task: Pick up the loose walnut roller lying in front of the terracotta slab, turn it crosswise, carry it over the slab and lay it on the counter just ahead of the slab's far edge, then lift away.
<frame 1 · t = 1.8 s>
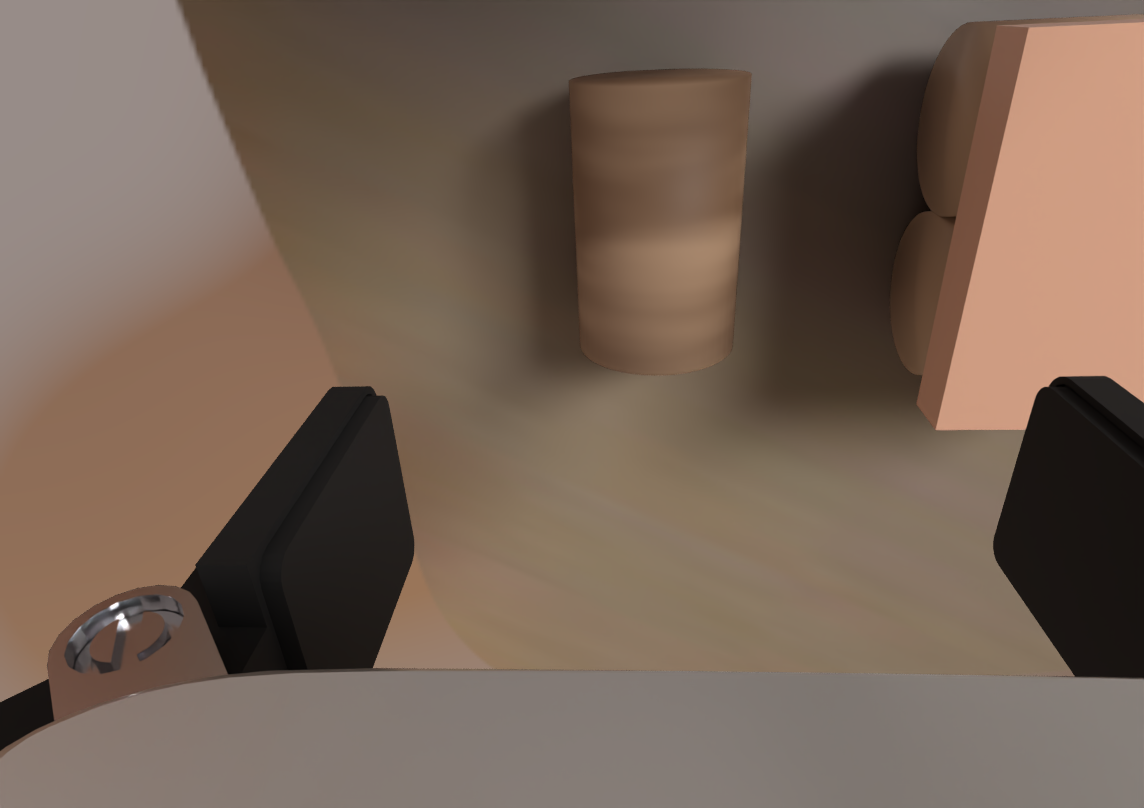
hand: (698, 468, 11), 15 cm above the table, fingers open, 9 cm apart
roller: (657, 200, 24), on the table
slab: (1034, 190, 23), on the table
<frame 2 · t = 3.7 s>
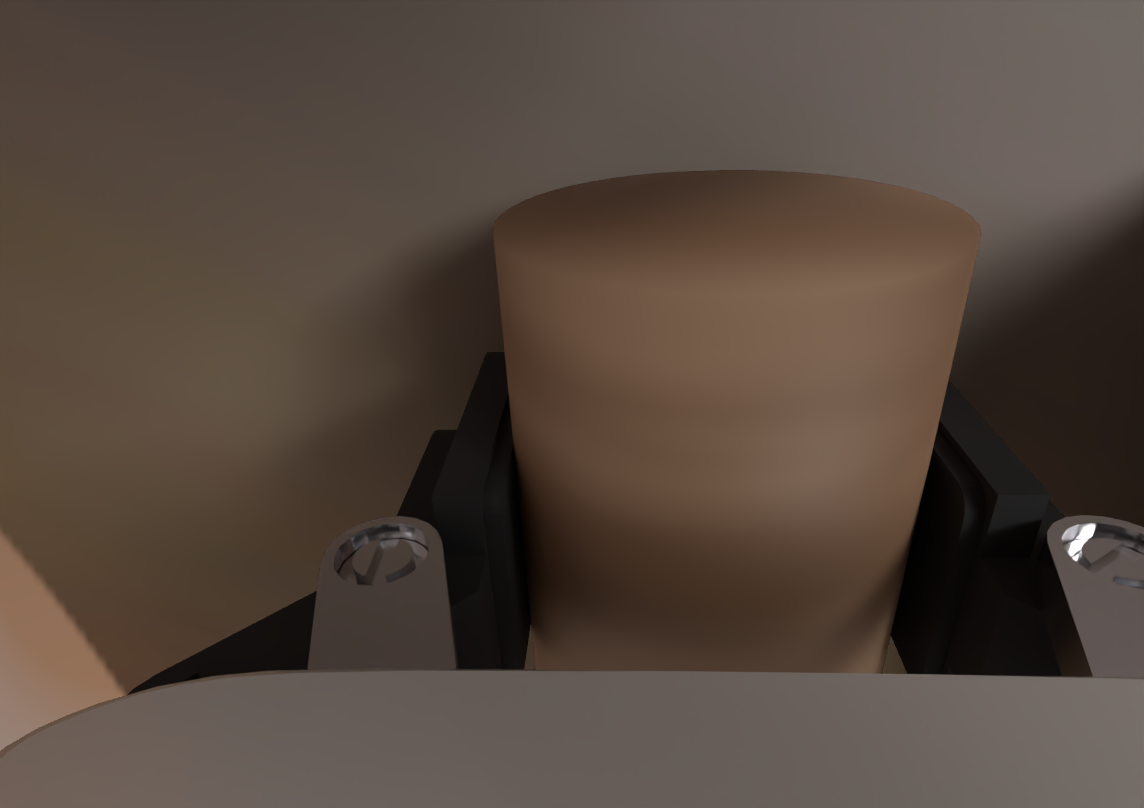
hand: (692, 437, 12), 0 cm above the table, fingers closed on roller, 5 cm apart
roller: (693, 420, 12), on the table, touching gripper
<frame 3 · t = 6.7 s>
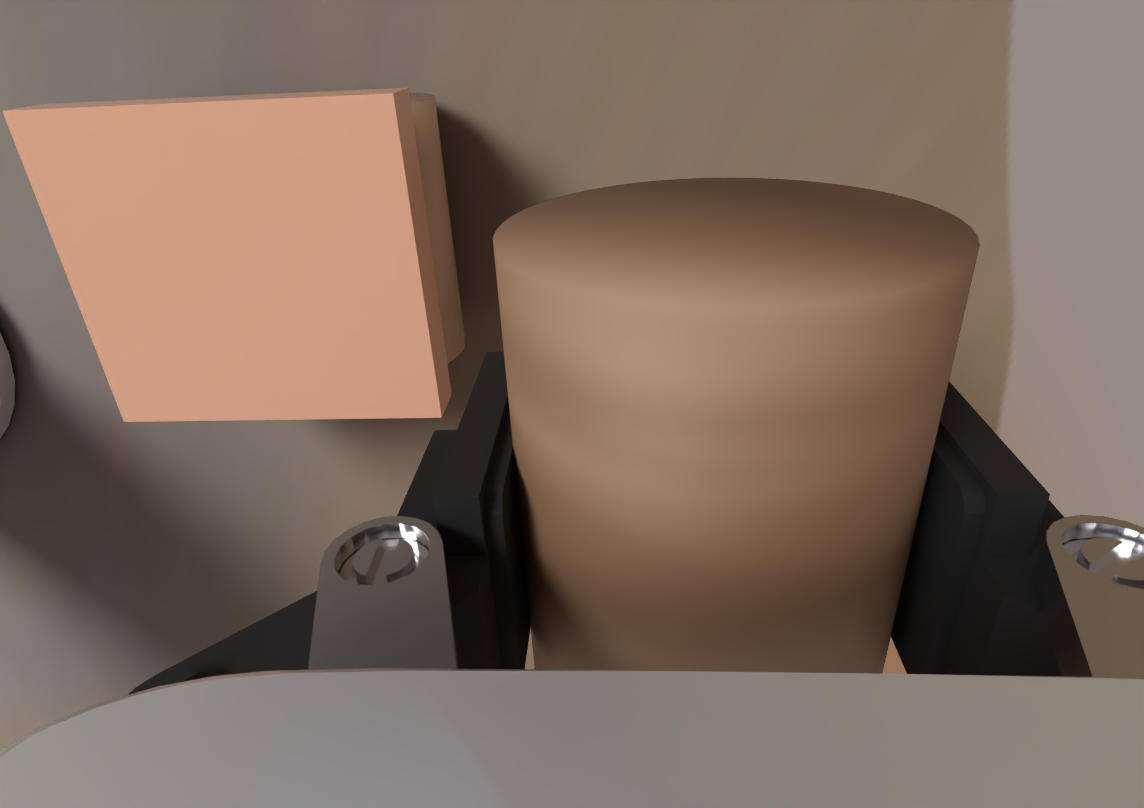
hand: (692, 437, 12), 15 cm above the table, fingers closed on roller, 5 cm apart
roller: (692, 426, 12), point 15 cm above the table, touching gripper
slab: (325, 218, 26), on the table
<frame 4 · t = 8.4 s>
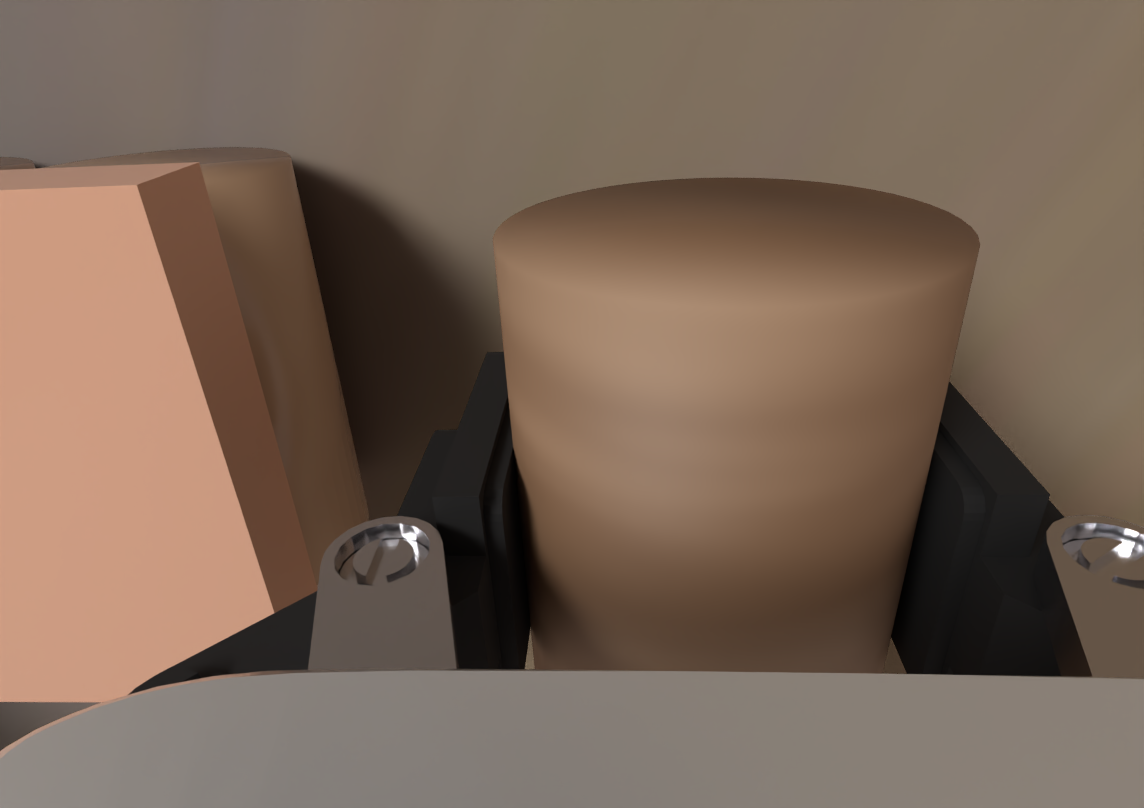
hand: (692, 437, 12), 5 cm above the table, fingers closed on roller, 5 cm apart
roller: (692, 426, 12), point 5 cm above the table, touching gripper
slab: (152, 333, 17), on the table
when the fingers open (1 cm above the table, at t = 9.6 s): roller stays where it is, on the table.
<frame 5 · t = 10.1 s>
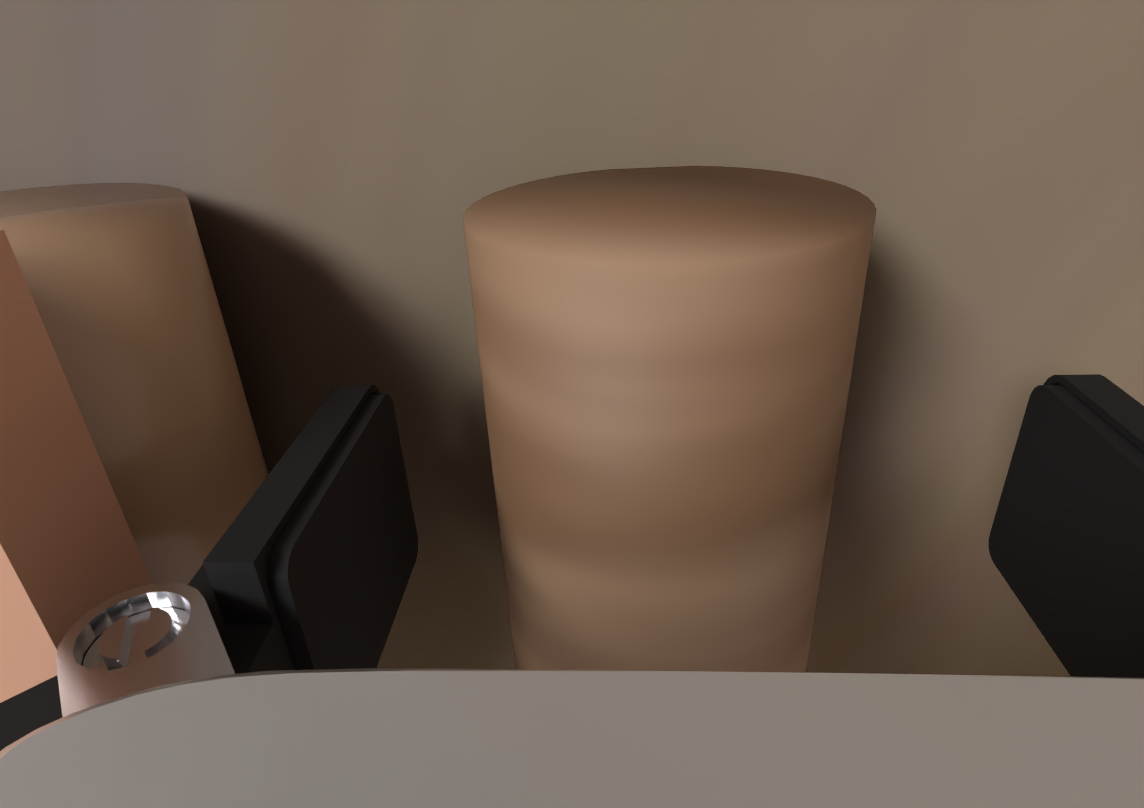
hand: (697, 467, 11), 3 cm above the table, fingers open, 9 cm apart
roller: (653, 393, 13), on the table
slab: (45, 404, 14), on the table
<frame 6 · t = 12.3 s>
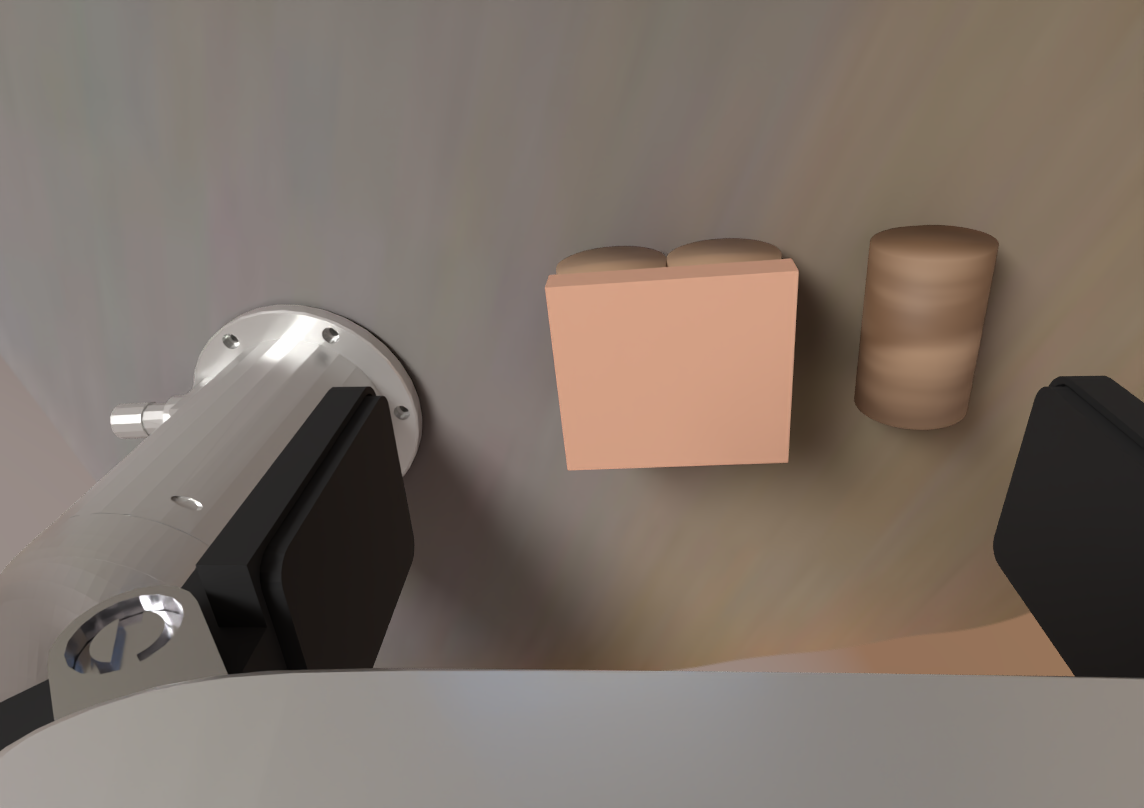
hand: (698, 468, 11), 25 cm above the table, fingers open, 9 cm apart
roller: (904, 306, 35), on the table
slab: (667, 319, 37), on the table
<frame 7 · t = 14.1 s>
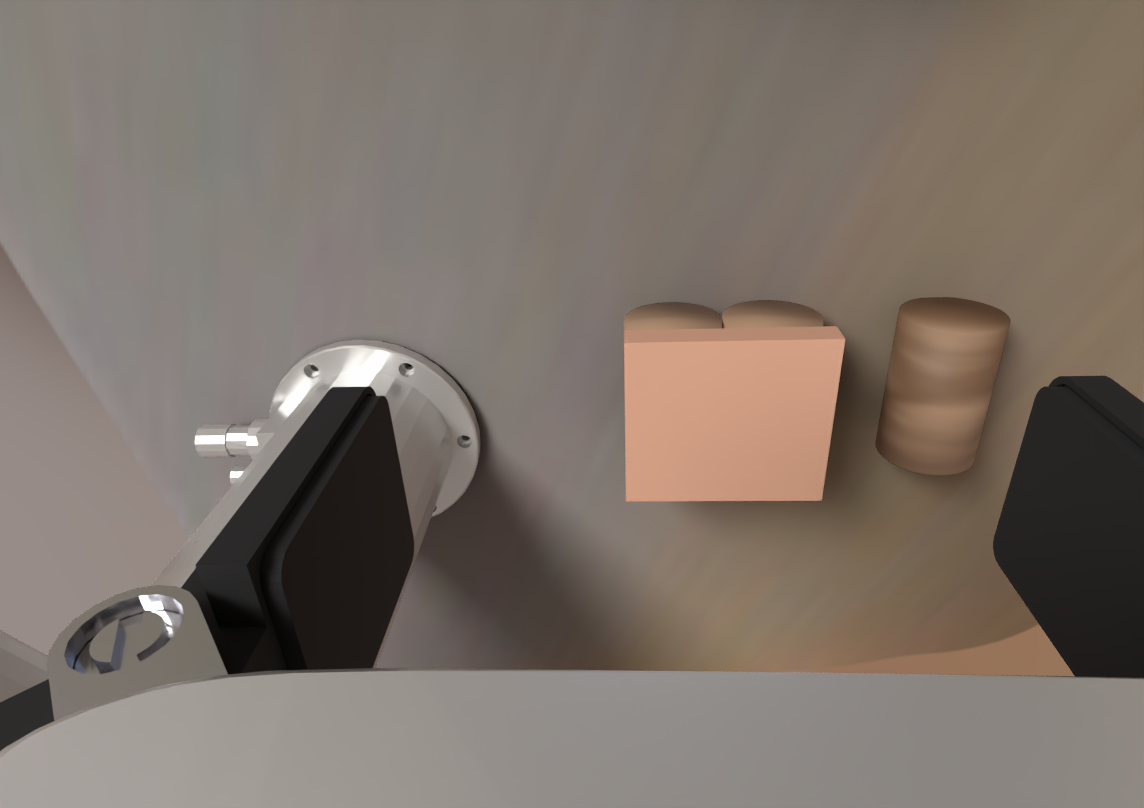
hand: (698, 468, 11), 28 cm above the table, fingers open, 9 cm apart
roller: (920, 365, 40), on the table
slab: (712, 368, 41), on the table
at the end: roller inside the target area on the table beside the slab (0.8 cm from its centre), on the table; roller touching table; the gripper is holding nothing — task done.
